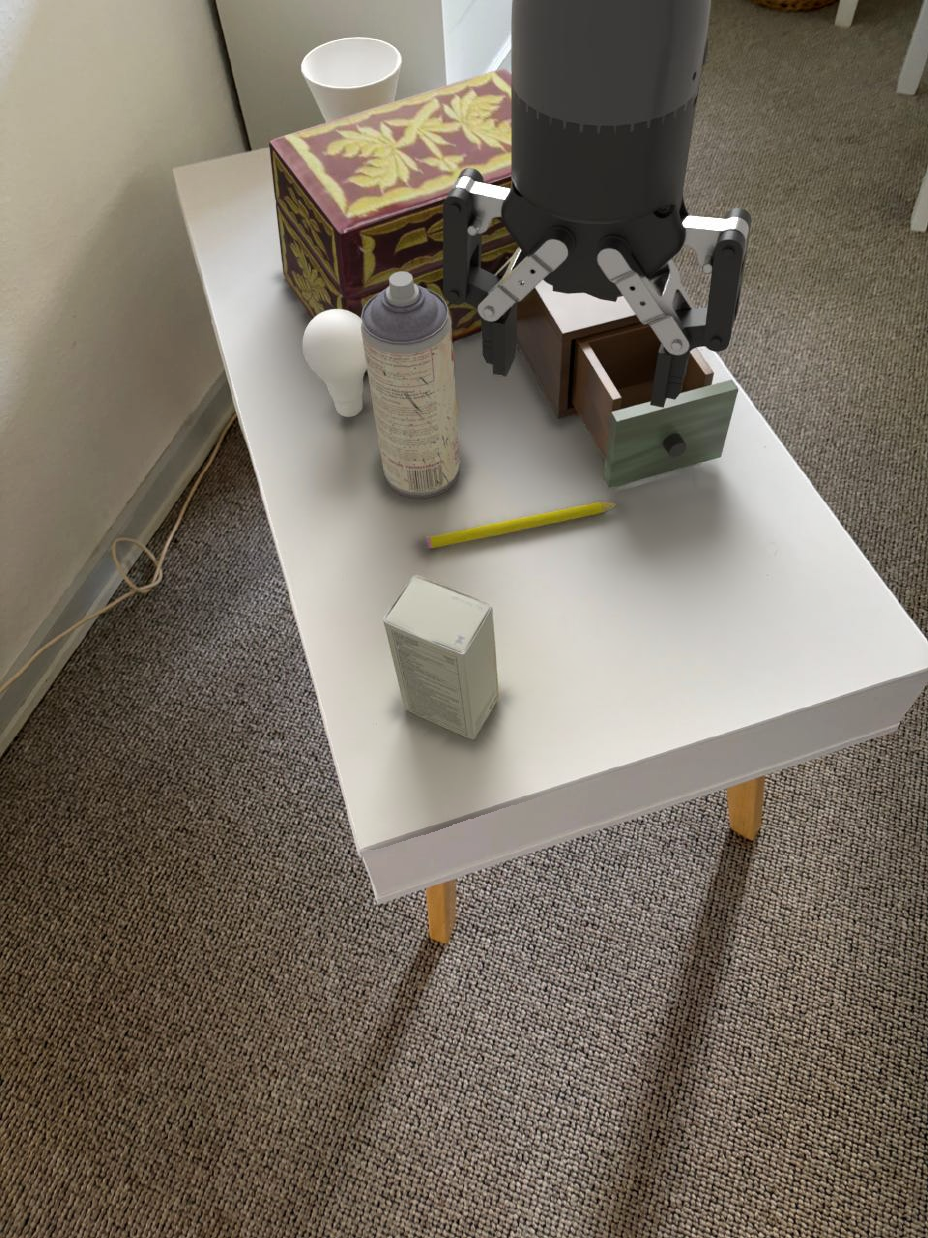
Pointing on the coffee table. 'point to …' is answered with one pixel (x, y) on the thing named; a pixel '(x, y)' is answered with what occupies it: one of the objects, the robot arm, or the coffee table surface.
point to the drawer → (646, 406)
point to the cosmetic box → (444, 655)
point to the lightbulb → (338, 357)
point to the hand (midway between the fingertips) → (581, 381)
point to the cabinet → (562, 336)
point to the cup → (352, 75)
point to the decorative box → (389, 194)
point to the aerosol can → (412, 387)
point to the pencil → (517, 524)
